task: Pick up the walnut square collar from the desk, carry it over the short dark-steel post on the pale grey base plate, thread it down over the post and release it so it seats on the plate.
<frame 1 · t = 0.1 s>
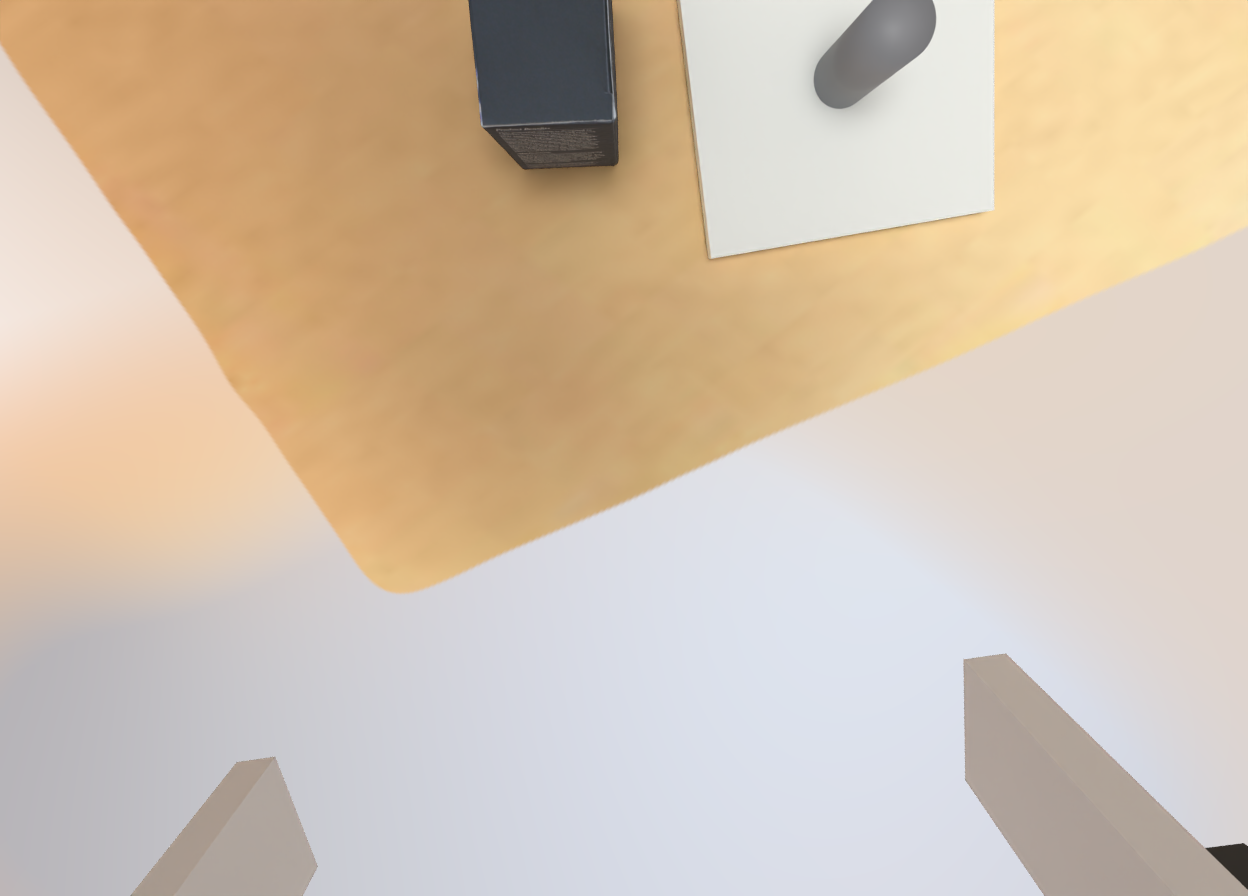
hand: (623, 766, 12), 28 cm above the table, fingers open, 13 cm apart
post: (834, 84, 33), on the table
box: (565, 94, 34), on the table
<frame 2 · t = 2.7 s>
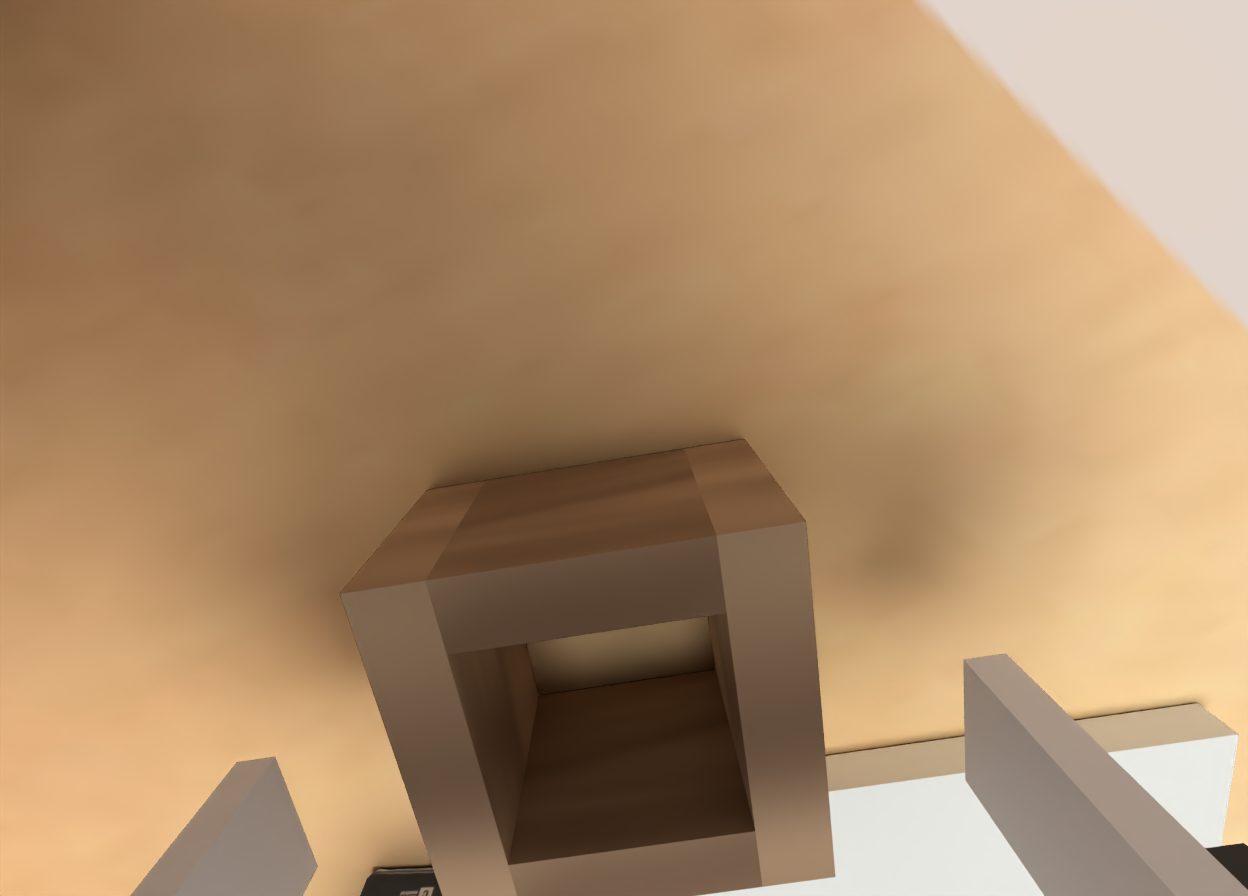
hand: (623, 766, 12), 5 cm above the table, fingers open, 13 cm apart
collar: (611, 604, 16), on the table
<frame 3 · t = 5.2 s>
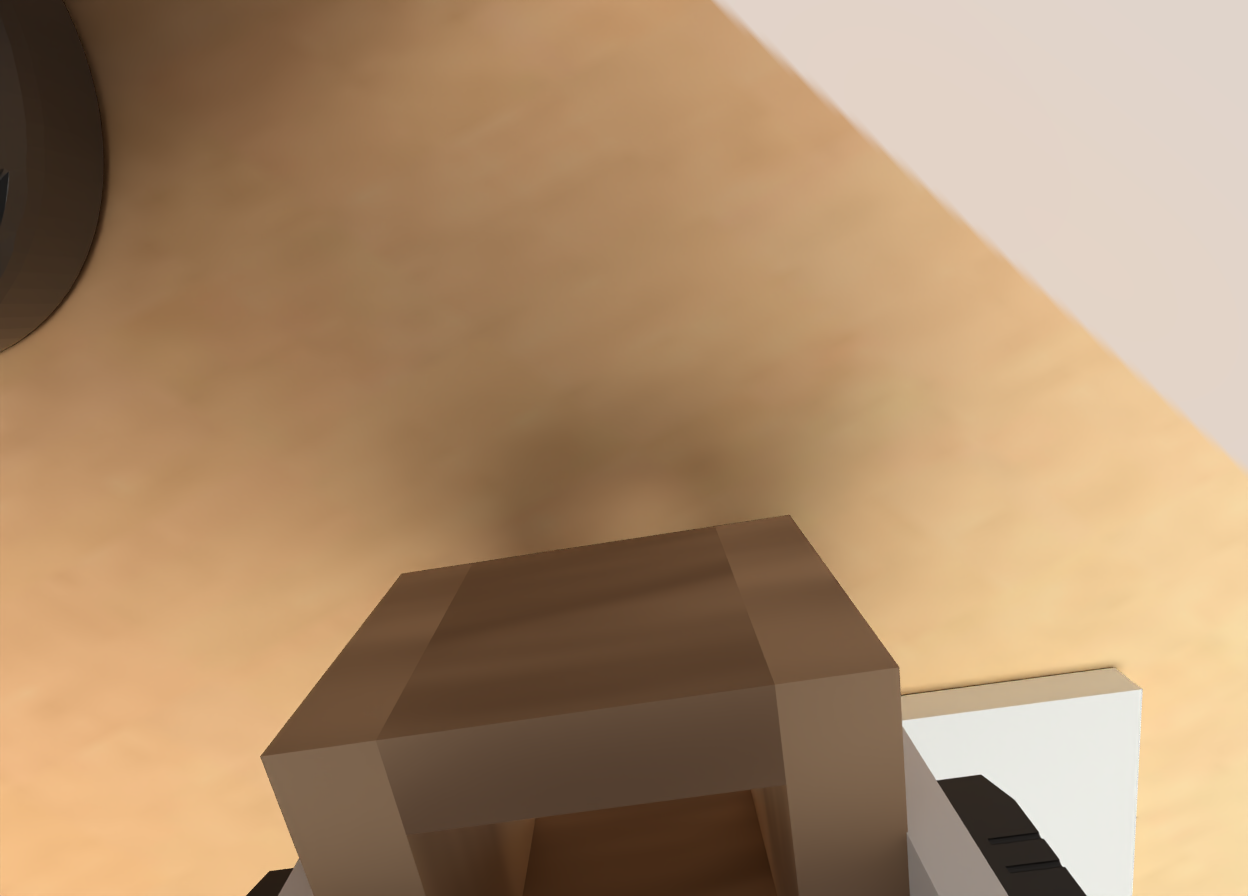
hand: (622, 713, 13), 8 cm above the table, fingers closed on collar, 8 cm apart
post: (895, 875, 23), on the table
collar: (624, 710, 13), point 7 cm above the table, touching gripper
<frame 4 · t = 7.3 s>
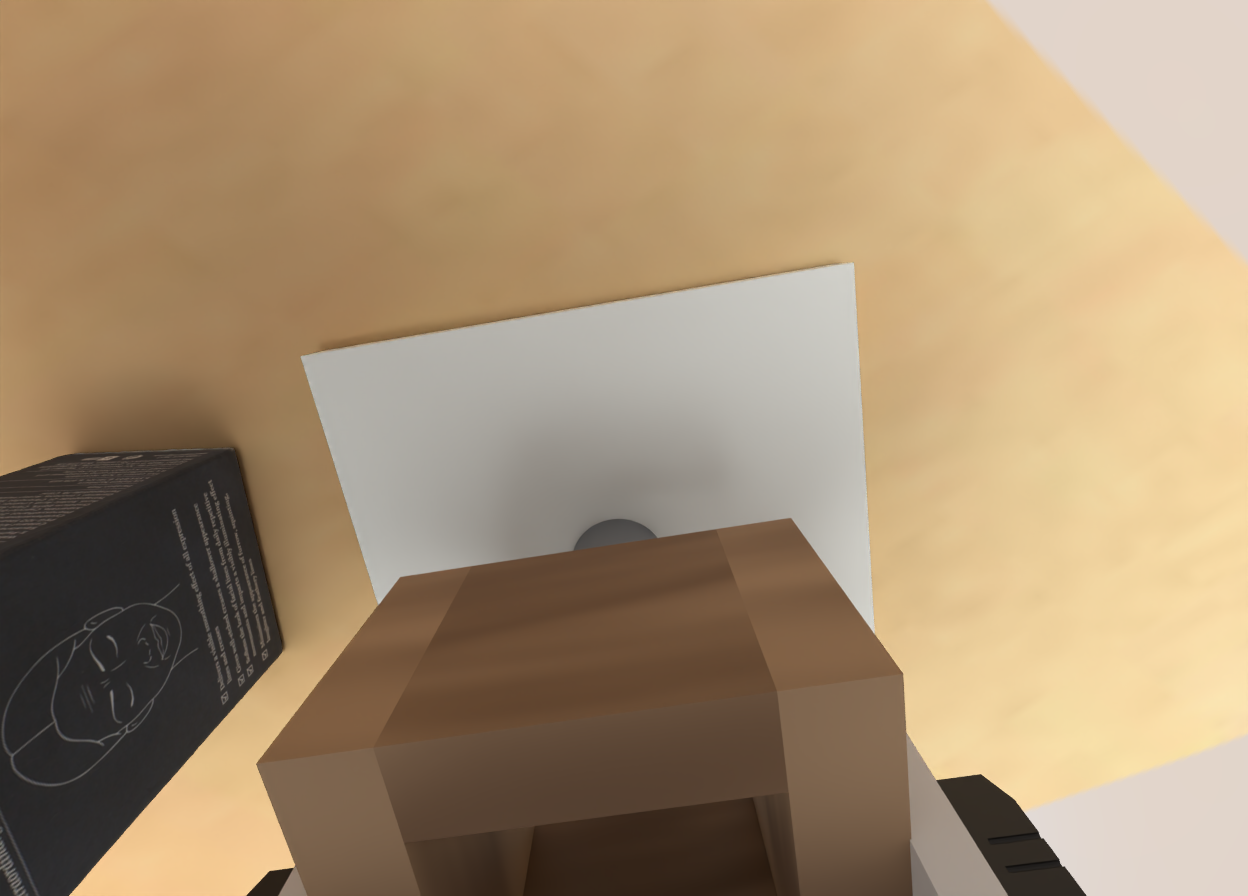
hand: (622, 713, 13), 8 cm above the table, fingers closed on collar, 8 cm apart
post: (618, 546, 21), on the table
box: (188, 555, 21), on the table
collar: (624, 714, 13), point 8 cm above the table, touching gripper
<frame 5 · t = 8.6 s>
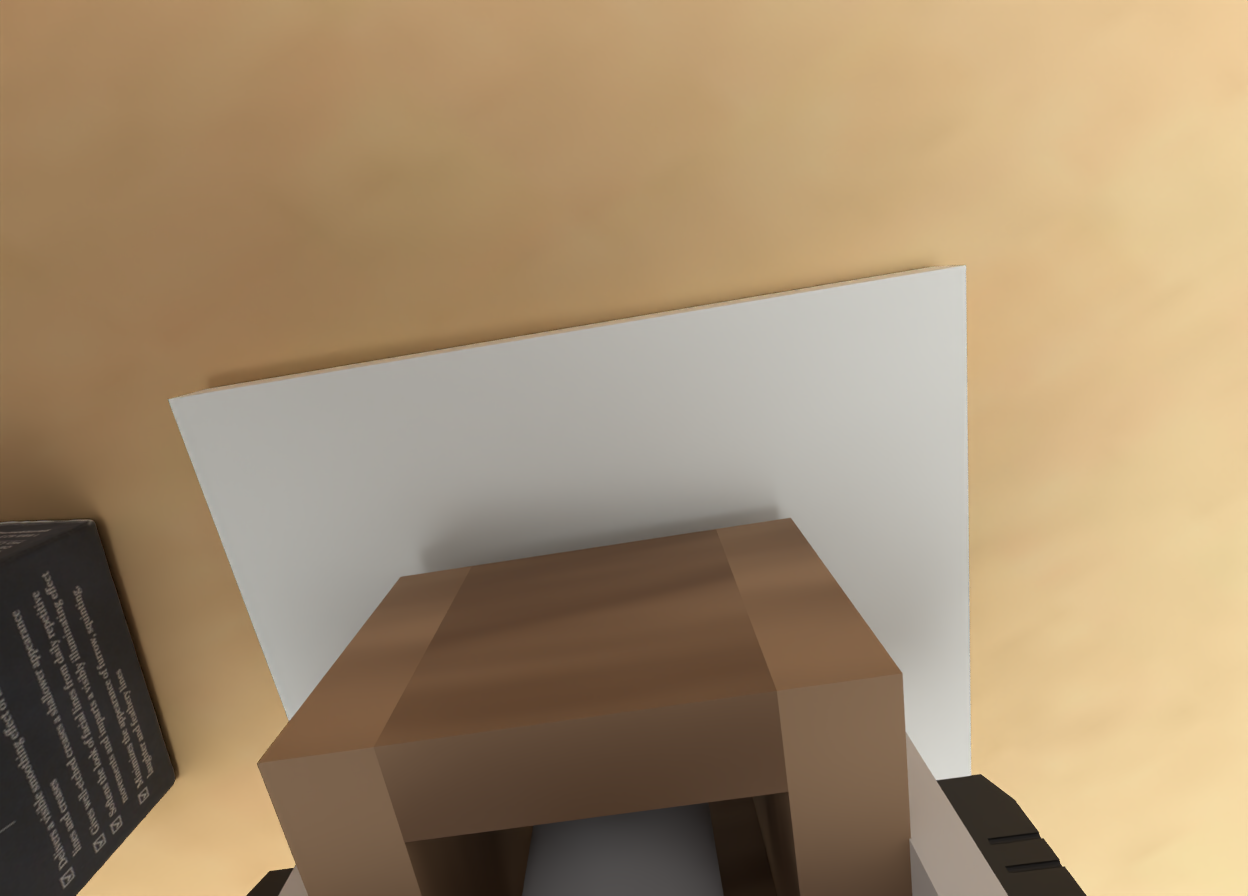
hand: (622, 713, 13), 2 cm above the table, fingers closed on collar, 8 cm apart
post: (622, 647, 15), on the table
box: (45, 656, 16), on the table
collar: (624, 714, 13), point 2 cm above the table, touching gripper
when the fingers open (2 cm above the table, at t = 9.6 s): collar stays where it is, resting on post.
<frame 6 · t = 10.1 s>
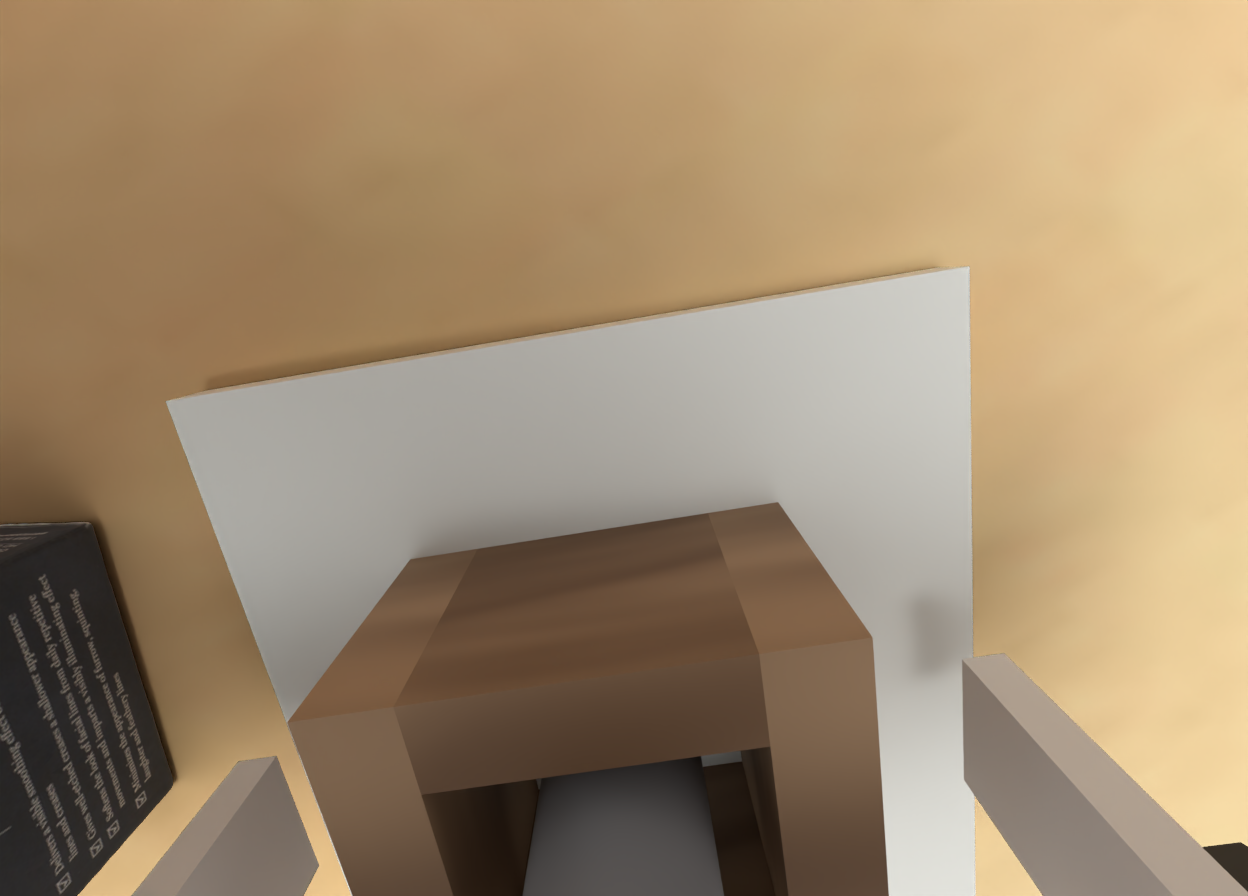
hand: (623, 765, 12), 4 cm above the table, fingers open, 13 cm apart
post: (622, 651, 15), on the table
box: (42, 659, 15), on the table
collar: (622, 688, 14), point 1 cm above the table, touching post
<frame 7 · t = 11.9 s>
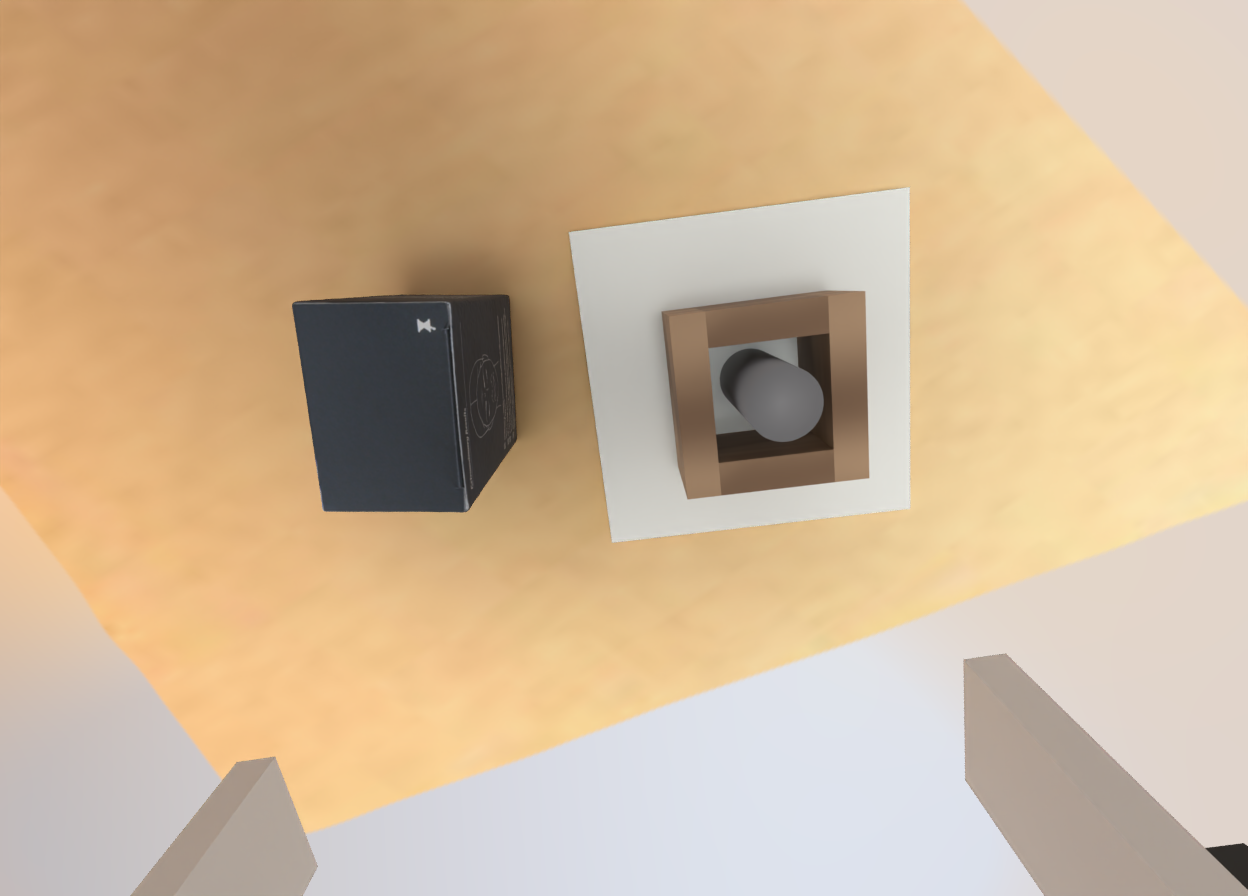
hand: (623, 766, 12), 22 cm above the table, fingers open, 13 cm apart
post: (744, 375, 32), on the table
box: (462, 370, 32), on the table
collar: (749, 382, 30), point 1 cm above the table, touching post
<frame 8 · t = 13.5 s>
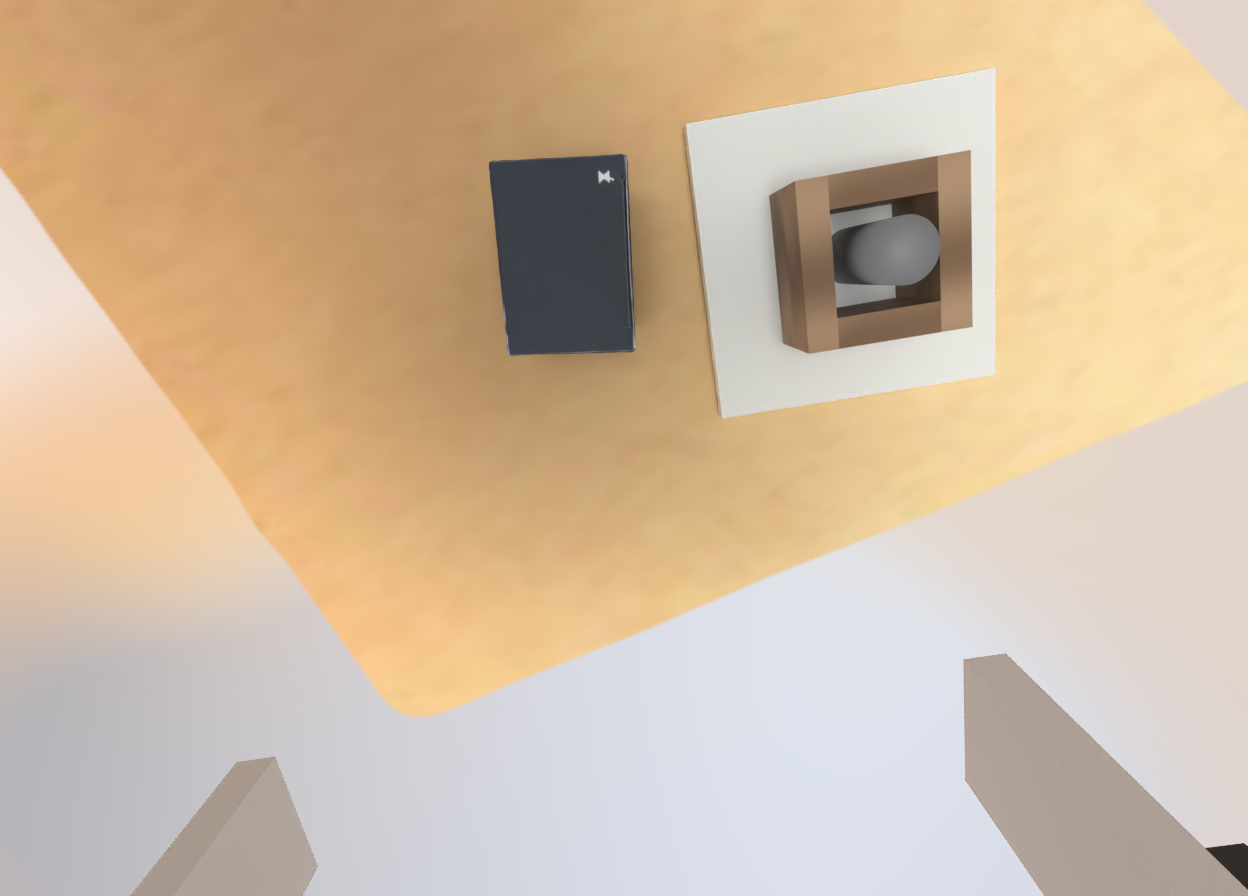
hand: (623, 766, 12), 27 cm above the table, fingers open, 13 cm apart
post: (841, 256, 35), on the table
box: (582, 264, 35), on the table
collar: (848, 259, 33), point 1 cm above the table, touching post
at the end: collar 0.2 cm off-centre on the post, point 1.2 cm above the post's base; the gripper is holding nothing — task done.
